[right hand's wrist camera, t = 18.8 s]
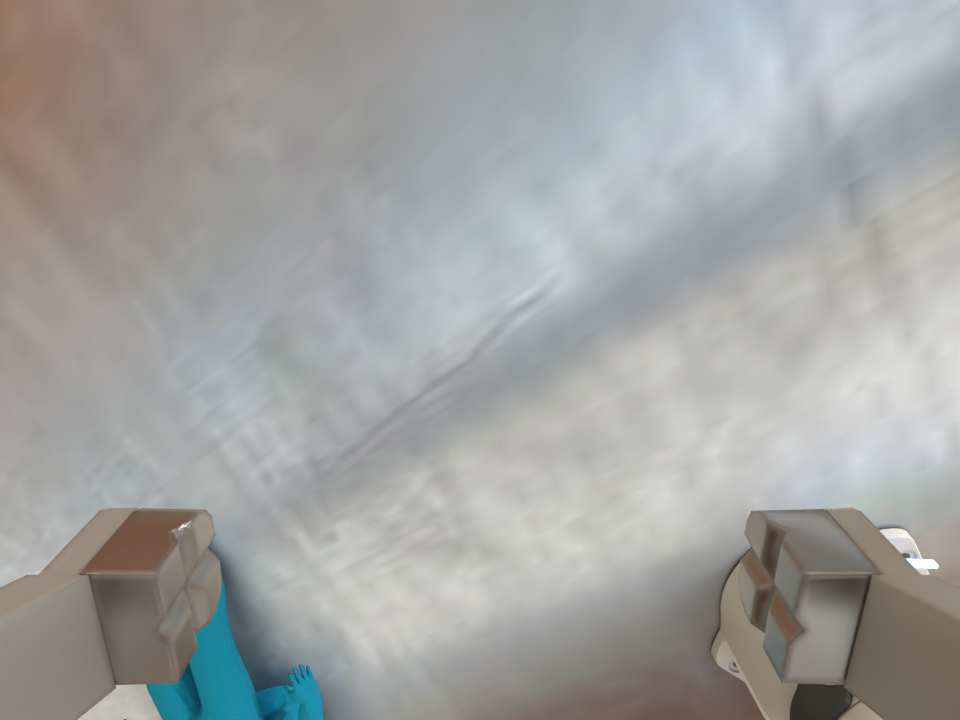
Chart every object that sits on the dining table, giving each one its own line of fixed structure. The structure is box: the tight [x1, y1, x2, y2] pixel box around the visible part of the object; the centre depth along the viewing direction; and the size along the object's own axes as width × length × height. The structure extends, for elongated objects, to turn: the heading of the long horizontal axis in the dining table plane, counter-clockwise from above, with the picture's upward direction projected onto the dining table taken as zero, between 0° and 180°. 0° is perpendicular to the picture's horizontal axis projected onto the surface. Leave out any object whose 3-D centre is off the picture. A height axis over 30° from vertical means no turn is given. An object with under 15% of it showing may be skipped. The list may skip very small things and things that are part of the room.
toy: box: [124, 580, 324, 720], centre depth 55 cm, size 17×11×30 cm
